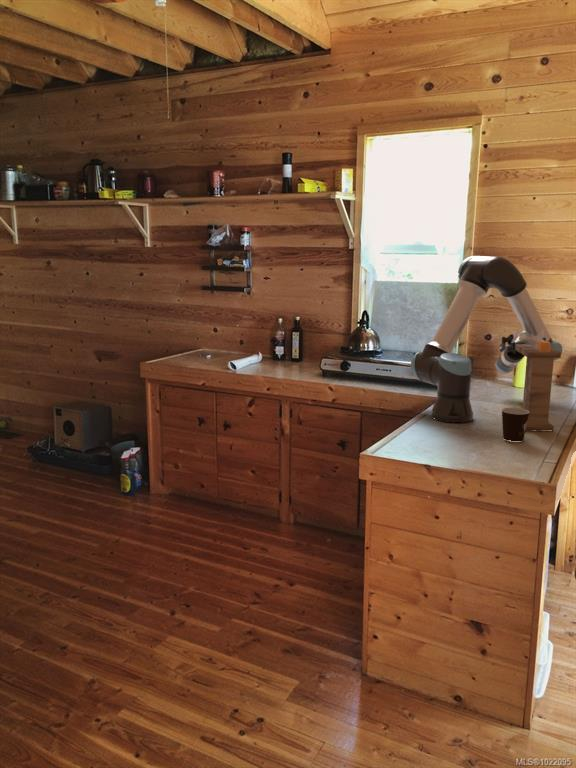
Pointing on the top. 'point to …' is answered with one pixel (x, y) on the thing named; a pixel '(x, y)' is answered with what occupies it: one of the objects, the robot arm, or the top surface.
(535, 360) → the shelf post
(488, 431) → the top surface
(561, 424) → the top surface
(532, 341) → the clear orange-capped tube
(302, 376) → the top surface
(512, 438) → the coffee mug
